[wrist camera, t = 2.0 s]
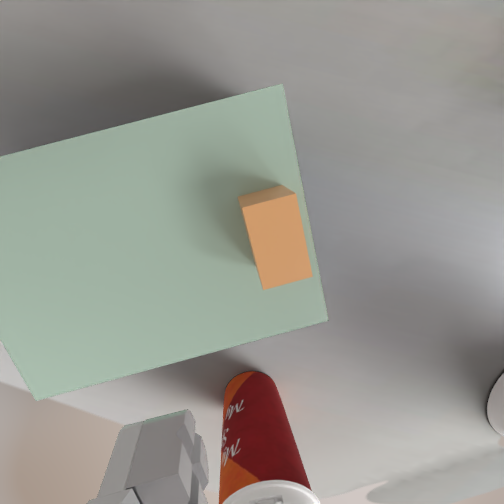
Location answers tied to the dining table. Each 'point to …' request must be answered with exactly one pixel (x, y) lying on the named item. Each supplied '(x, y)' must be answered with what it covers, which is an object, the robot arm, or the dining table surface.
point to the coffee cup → (259, 447)
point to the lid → (155, 243)
